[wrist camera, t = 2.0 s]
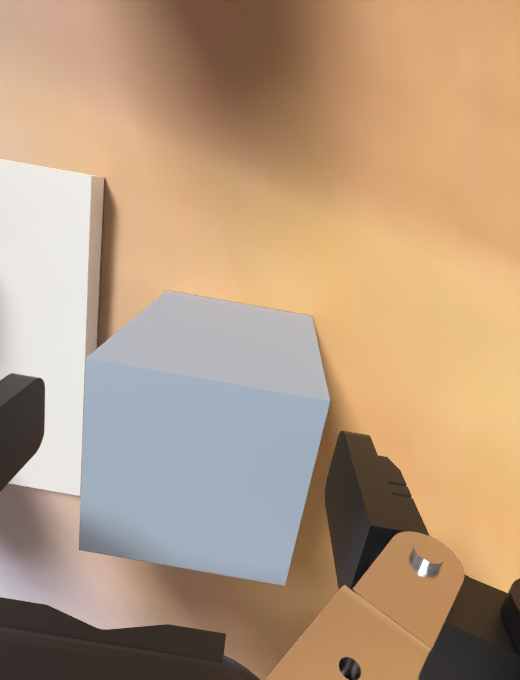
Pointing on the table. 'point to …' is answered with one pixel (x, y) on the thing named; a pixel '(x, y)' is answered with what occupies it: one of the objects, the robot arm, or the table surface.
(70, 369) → the board
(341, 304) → the table surface
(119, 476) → the pastel blue cube
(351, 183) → the table surface
